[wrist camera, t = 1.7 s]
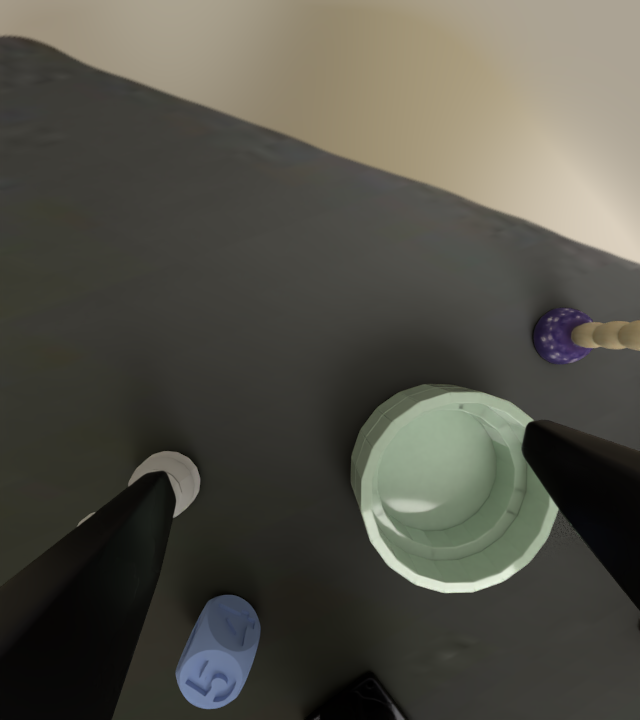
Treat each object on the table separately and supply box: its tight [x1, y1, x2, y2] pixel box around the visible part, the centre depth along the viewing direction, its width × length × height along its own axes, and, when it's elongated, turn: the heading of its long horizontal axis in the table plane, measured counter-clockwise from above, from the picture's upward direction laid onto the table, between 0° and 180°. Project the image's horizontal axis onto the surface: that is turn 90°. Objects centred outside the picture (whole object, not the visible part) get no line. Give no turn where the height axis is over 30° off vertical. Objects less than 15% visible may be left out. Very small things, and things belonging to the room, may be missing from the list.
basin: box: [351, 384, 559, 593], centre depth 20 cm, size 12×12×4 cm
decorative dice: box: [176, 595, 261, 709], centre depth 20 cm, size 4×4×4 cm
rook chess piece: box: [77, 451, 200, 527], centre depth 17 cm, size 4×4×8 cm
